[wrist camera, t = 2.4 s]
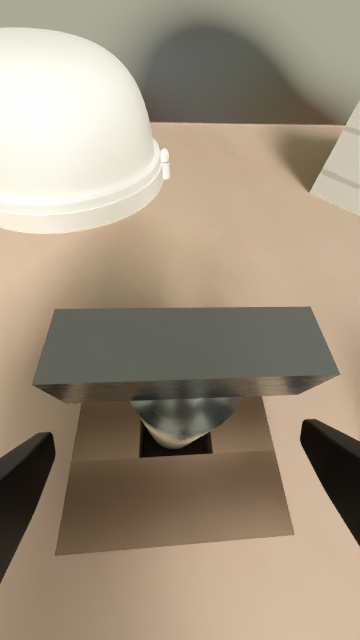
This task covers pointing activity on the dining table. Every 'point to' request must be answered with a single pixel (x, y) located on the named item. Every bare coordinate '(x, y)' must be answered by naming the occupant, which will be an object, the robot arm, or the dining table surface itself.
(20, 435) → the dining table surface
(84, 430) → the socket block
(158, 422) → the t key
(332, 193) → the pizza boxes
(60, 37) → the dome cover
